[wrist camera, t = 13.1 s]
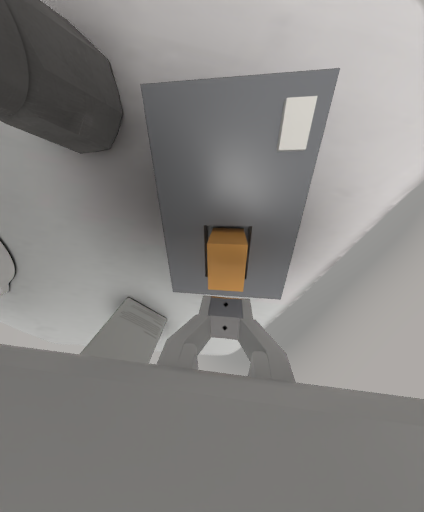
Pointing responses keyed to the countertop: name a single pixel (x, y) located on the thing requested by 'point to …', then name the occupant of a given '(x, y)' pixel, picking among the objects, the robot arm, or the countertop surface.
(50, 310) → the countertop surface
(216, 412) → the robot arm
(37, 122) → the coffeepot
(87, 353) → the skincare box
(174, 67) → the countertop surface
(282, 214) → the socket plate
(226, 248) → the plug
